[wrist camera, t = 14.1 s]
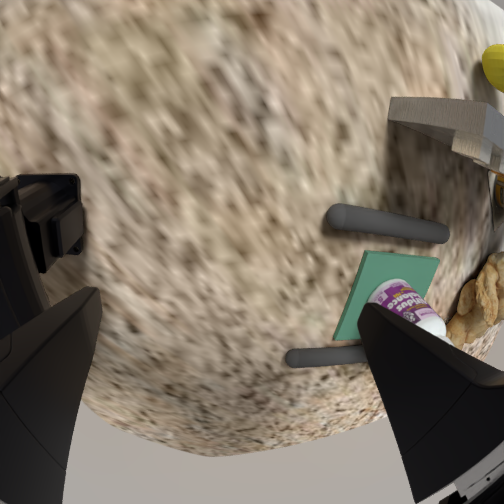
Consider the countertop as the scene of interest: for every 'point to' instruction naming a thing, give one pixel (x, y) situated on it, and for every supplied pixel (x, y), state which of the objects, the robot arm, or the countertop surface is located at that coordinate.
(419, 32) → the countertop surface
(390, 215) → the dark grey rod
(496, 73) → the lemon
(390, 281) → the pill bottle
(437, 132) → the gray printed box
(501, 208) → the condiment
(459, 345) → the ginger root
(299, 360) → the dark grey rounded rod
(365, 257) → the pad
